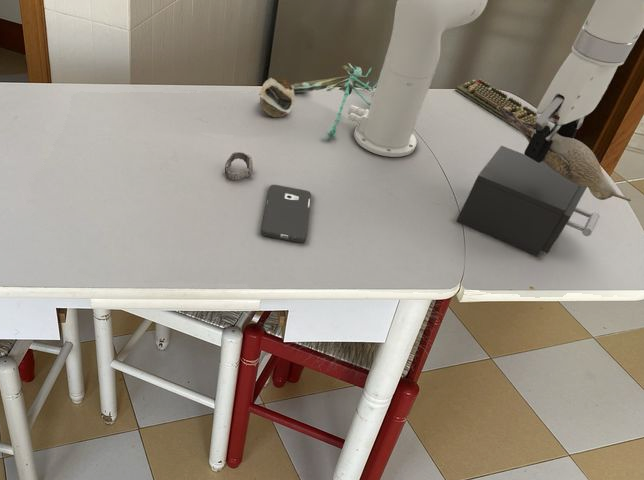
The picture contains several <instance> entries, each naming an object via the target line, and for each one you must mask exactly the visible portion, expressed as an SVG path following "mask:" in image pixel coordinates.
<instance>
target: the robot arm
mask: <svg viewBox="0 0 644 480" xmlns="http://www.w3.org/2000/svg"><path fill="white" fill-rule="evenodd" d="M487 4H488V0H397V1H396V4H395V5H396V6H395V9H394V10H395V11H394V18H393V26H392V31H391V36H390V40H389V44H388V47H387V51H386V54H385V57H384V59H383V64H382V67H381V70H382V71H381V70H380V72H381V74H380V73H379V76H378V77H379V78H378V79H377V82H378V84H377V85H376V86H375V90H374V94H373V97H372V100H371V102H370V103H371V105H369V109H368V108H366V109H363V108H360V107H359V106H357V105H355V104H351V105H350V106H349V108H348V111H347V114H348V120H350V121H352V122H355V123H357V125H356V127H355V128H354V132H353V137H354V139H355V141H356V143H357V144H358V145H359V146H360V147H362V148H363V149H364V150H366V151H368V152H371V153H373V154H375V155H378V156H382V157H387V158H388V157H389V158H399V157H405V156H408V155H410V154H412V153H413V152H414V151H415V149H416V146H417V144H418V141H417V138H416V136H415V134H413V132H414V130H415V127H416V125H417V121H418V119H419V116H420V113H421V111H422V108H423V106H424V103H425V100H426V98H427V95H428V92H429V90H430V86H431V84H432V81H433V78H434V76H435V73H436V70H437V67H438V64H439V62H440V58H441V38H442V36H443V33H444V32H445V31H449V30H450V29H454V28H457V27H461V26H464V25H467V24H470V23H472V22H474V21H475V20H477V19H478V18H479V17H480V16H481V15H482V14H483V12H484V11H485V9H486V7H487ZM643 30H644V0H595V1H594V3H593V4H592V7H591V9H590V11H589V13H588V14H587V17H586V18H585V21H584V22H583V24H582V26H581V28H580V30H579V32H578V33H577V36H576V38H575V40H574V42H573V44H572V46H571V51H572V52H570V53H569V54H568V56H567V57H566V59H564V61H563V63H562V65H561V66H560V67H559V68H558V71H557V72H556V74H555V75H554V77H553V79H552V80H551V82H550V84H549V86H548V88H547V90H546V91H545V93H544V95H543V96H542V98H541V100H540V102H539V104H538V105H537V108H536V112H537V114H538V115H539V116H538V117H537V119H536V121H535V124H536V127H535V130H534V134H533V136H532V138H531V140H530V142H528V144H527V146H526V148H525V150H524V153H523V154H525V155H526V156H528V157H529V158H531V159H533V160H535V161H536V162H538V163H540V162H542V161H543V159H544V157H545V156H546V154H547V152H548V150H549V148H550V146H551V144H552V143H553V140H551V139H552V138H553V136H554V135H555V134H556V133H557V134H559V135H560V136H563V137H568V138H572V139H575V136H576V134H577V132H578V129H580V128H581V127H582V125H583V122H584V119H585V118H586V117H587V116H589V114H591V113H592V112H593V111H594V110H595V109H596V108H597V106H598V104H599V103H600V101H602V98H603V97H604V94H605V93H606V91H607V90H608V88H609V85H610V84H611V81H612V80H613V78H614V75H615V73H616V72H617V69H618V67H620V66H622V65H624V64H625V62H626V60H627V59H628V56H629V54H630V53H631V51H632V50H633V48H634V46H635V44H636V43H637V40H638V39H639V38H640V35H641V34H642V32H643ZM554 116H557V117H559V118H558V119H556V118H554ZM549 122H550V123H551V124H553V126H552V127H551V126H550V125H549V126H550V127H549V126H548V124H549Z"/></svg>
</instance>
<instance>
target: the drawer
mask: <svg viewBox="0 0 644 480" xmlns="http://www.w3.org/2000/svg"><path fill="white" fill-rule="evenodd" d="M587 189H588V187H587V186H579V187H578V189H577V191H576V193H575V195H574V196H573V198H572V200H571V202H570V203H569V205H568V207H567V209H566V211H565V212H564V214H563V216H562V217H561V219H560V220H559V222H558V224H557V225H556V227H555V229H554V230H553V232H552V233H551V235H550V237H549V238H548V240H547V242H546V243H545V245H544V247H543V248H542V250H541V251H540V252H542V253H544V254H547V255H548V254H549V253H550V251H551V249H552V248H553V246H554V244H555V243H556V241H557V240H558V239H559V236H560V235H561V234H562V232H563V230H564V228H565V227H566V226H568V227H570V228H573V229H576V230H578V231H580V232H581V234H582V235H583V236H585V237H589V236H591V235H592V233H593V232H594V229H595V227H596V226H597V223H598V221H599V219H600V217H601V216H600V214H599V212H592V213H591V212H589V211H586V210H584V209H582V208H579V207H578V204H579V202H581V199H582V197H583V195H584V194H585V192H586V190H587ZM574 212H575V213H577V214H578V215H580V216H581V215H582V216H583V217H587V218H588V219H587V222H586V223H585V225H584V226H583V225H580V224H578V223H576V222H573V221H571V220H570V219H571V217H572V216H573V213H574Z"/></svg>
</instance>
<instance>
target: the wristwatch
mask: <svg viewBox="0 0 644 480" xmlns="http://www.w3.org/2000/svg"><path fill="white" fill-rule="evenodd" d="M238 159H239V160H243V162H244V163H245V164H246V169H242V170H240V171H238V172H236V173H235V172H230V168H231V167H232V163H233V162H234V160H238ZM253 171H254V163H253V158H252V156H251V155H249V154H247V153H245V152H241V151H236V152H233V153H231V155H230V156H229V158H228V159H227V160H226V162H225V164H224V174H225V176H226V178H228V179H229V180H232V181H237V180H239V179H242V178H247V177H250V176H251V175H252V174H253Z"/></svg>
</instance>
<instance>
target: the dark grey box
mask: <svg viewBox="0 0 644 480" xmlns="http://www.w3.org/2000/svg"><path fill="white" fill-rule="evenodd" d="M579 186H580V185H577V184H575V183H573V182H572V181H570V180H569V179H567V178H565V177H564V176H562V175H561V174H559V173H558V172H556V171H554V170H553V169H551V168H550V167H549V166H548V165H547V164H546V163H544V162H543V161H542V162H540V163H538V162H536V161H535V160H533V159H531V158H529V157H528V156H526V155H525V154H524V153H522V152H519V151H517V150H515V149H514V150H513V149H512V148H509V147H507V146H504V145H500V146H499V147H498V149H496V152H495V153H494V154H493V156H491V158H490V159H489V161H488V162H487V163H486V165H484V167H483V168H482V170H481V171H480V172H479V174H478V175H477V177H476V179H475V181H474V183H473V185H472V188H471V189H470V191H469V194H468V196H467V198H466V200H465V202H464V204H463V206H462V207H461V210H460V213H459V215H458V217H457V218H456V223H458V224H461V225H463V226H465V227H468V228H470V229H472V230H475V231H476V232H479V233H481V234H483V235H486V236H488V237H490V238H492V239H495V240H497V241H499V242H501V243H504V244H505V245H509V246H511V247H513V248H515V249H518V250H520V251H522V252H525V253H527V254H530V255H532V256H534V257H536V258H537V257H539V255H540V253H541V252H542V251H541V250H542V248H543V247H544V245H545V243H546V242H547V240H548V238H549V237H550V235H551V233H552V232H553V230H554V229H555V227H556V225H557V224H558V222H559V220H560V219H561V217H562V216H563V214H564V212H565V211H566V209H567V207H568V205H569V203H570V202H571V200H572V198H573V196H574V195H575V193H576V191H577V189H578V187H579Z"/></svg>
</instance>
